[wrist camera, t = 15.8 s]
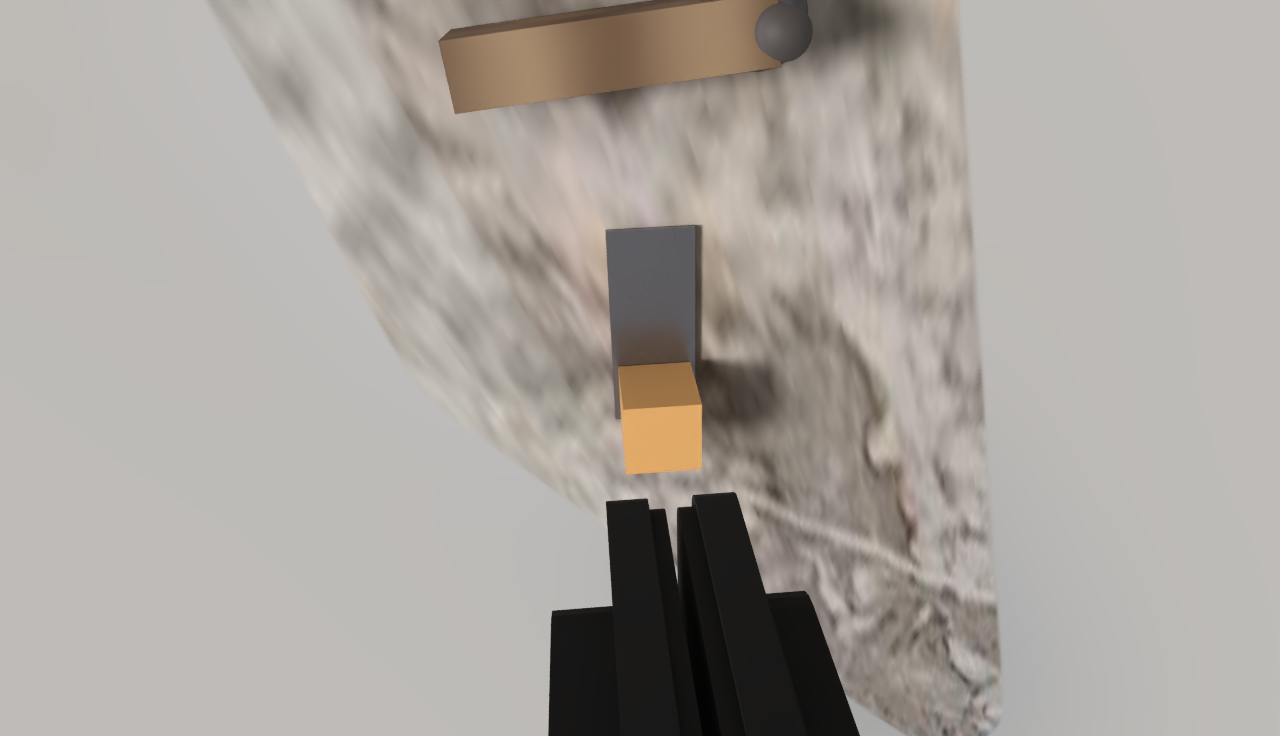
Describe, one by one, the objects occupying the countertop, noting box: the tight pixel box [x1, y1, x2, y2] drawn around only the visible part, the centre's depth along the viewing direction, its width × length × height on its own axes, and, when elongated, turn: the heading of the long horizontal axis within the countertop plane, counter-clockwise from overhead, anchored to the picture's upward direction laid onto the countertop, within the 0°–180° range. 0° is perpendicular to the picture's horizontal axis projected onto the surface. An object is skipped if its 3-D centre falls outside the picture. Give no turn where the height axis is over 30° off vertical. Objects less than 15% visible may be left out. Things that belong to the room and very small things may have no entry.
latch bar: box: [438, 0, 813, 114], centre depth 30 cm, size 13×2×5 cm, turn 97°
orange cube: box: [618, 362, 702, 474], centre depth 39 cm, size 4×4×4 cm
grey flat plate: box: [606, 225, 695, 419], centre depth 39 cm, size 10×4×1 cm, turn 2°
